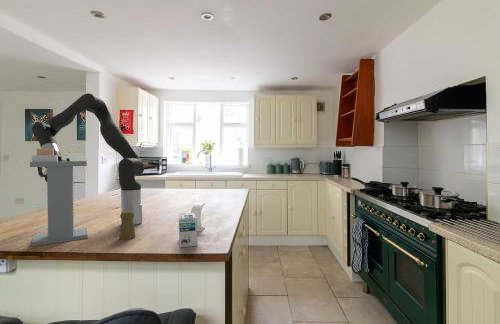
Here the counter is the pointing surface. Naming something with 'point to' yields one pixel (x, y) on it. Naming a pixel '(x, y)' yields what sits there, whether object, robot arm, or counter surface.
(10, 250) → the counter surface
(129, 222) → the cork
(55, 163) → the stand
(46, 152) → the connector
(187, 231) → the light bulb box
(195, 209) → the headphone stand
